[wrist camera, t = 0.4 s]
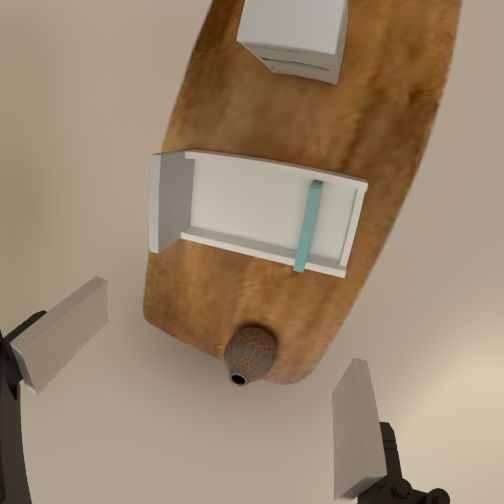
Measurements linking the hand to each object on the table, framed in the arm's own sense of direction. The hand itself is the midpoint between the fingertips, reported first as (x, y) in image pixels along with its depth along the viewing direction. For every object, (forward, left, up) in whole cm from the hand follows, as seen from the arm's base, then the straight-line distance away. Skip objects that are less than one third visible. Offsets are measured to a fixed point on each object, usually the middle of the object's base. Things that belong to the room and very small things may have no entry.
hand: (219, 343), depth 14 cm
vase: (+11, +15, -23) cm, 29 cm away
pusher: (-2, 0, -22) cm, 22 cm away
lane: (+2, -3, -22) cm, 23 cm away
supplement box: (-10, -17, -23) cm, 30 cm away
